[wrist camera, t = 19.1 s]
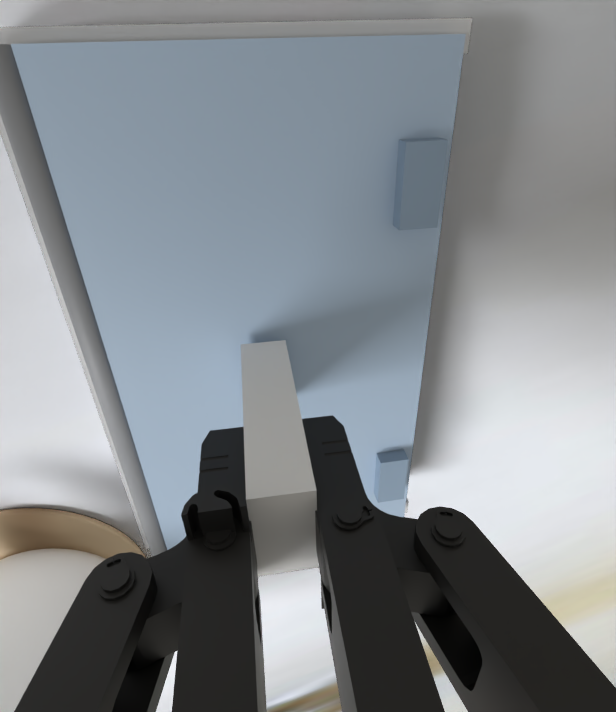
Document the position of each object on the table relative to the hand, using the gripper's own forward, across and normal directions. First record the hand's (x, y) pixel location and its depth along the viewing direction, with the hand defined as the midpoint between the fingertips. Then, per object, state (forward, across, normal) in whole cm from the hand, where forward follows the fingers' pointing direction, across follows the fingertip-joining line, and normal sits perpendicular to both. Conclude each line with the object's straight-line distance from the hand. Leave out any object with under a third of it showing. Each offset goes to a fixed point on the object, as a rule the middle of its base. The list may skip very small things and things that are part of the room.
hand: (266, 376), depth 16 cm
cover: (+1, 0, 0) cm, 1 cm away
